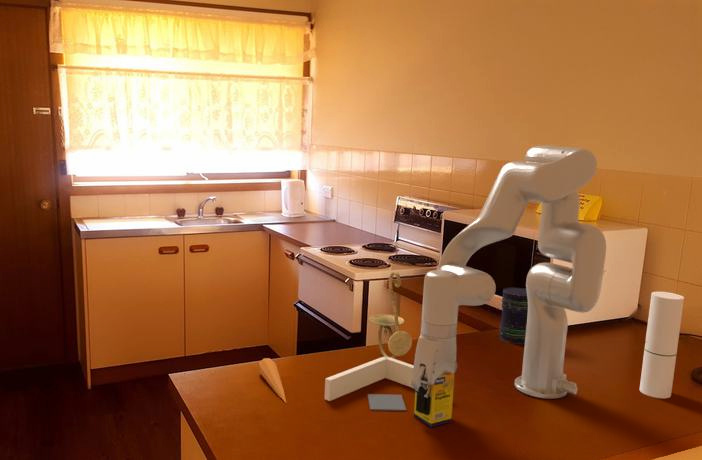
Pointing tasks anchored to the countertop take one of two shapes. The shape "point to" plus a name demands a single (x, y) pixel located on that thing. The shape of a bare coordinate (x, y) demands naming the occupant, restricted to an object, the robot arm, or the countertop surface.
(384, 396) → the mat
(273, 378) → the carrot
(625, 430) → the countertop surface
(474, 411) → the countertop surface
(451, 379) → the supplement box
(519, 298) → the storage jar
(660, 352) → the cylindrical container
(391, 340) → the wall sconce
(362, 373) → the white angled corner barrier
